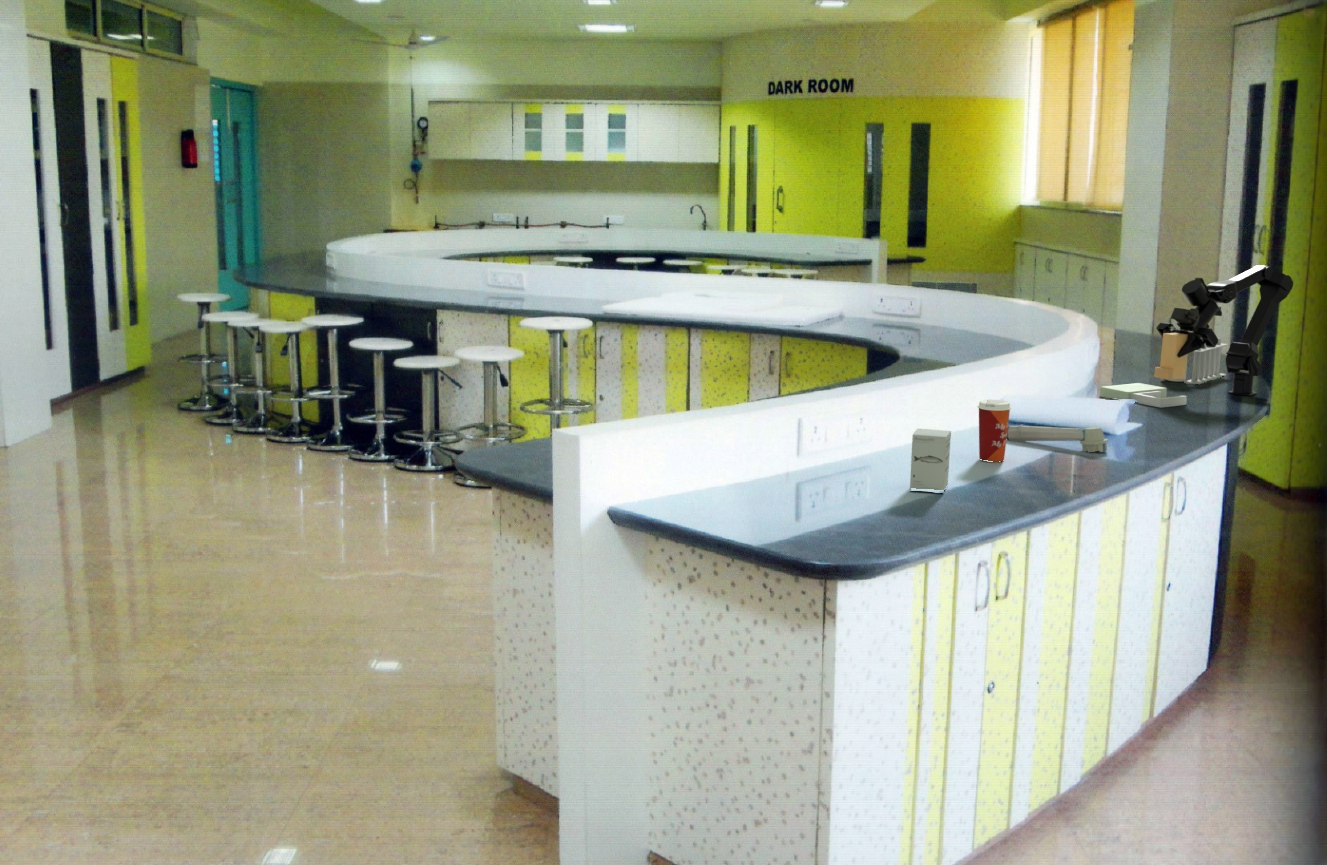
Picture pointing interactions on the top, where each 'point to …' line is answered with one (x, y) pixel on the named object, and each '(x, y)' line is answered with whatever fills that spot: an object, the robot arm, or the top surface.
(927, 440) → the supplement box
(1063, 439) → the grey piece
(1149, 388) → the cream stepped slab
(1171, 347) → the tan footed upright block
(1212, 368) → the test tube rack
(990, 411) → the paper cup
